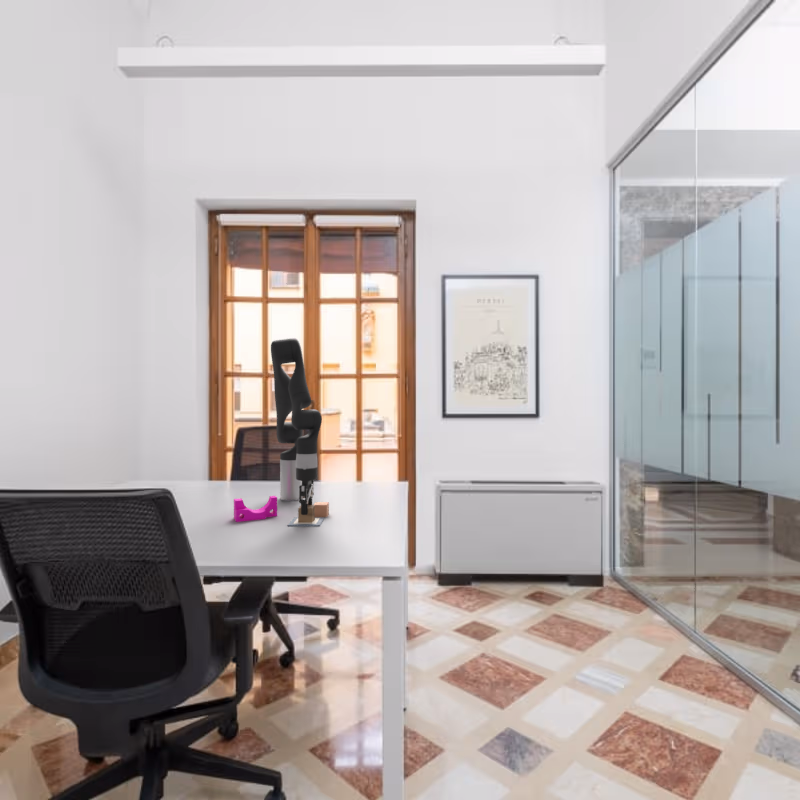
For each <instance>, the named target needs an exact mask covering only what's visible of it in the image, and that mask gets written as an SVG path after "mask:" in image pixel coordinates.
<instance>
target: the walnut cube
mask: <svg viewBox="0 0 800 800" xmlns="http://www.w3.org/2000/svg"><path fill="white" fill-rule="evenodd" d="M297 511H298V513H297V515H298V516H297V517H298V522H311V523H313V521H314V520H315V505H314V504H312V505H308V514H307V515H302V514H301V505H300V506H299V507H298V508H297Z"/></svg>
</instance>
